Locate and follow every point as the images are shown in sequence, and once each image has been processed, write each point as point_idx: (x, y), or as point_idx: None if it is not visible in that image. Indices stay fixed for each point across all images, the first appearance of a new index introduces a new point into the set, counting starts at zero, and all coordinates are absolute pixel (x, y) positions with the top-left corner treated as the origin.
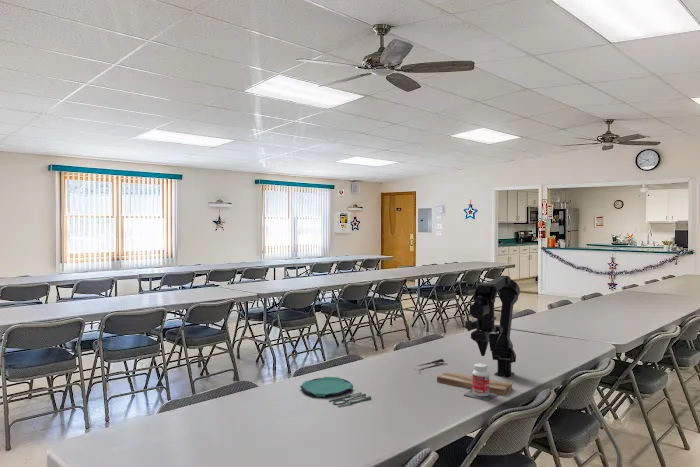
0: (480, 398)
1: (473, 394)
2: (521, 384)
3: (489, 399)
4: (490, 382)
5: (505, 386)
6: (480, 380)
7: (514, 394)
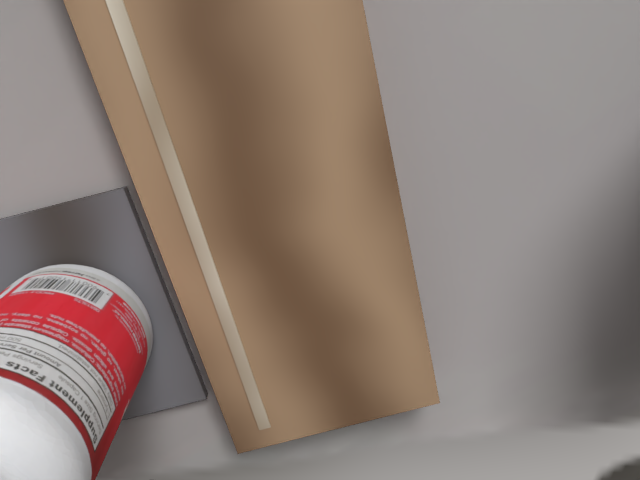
0: None
1: None
2: (580, 357)
3: None
4: (324, 269)
5: (329, 413)
6: None
7: (324, 451)
